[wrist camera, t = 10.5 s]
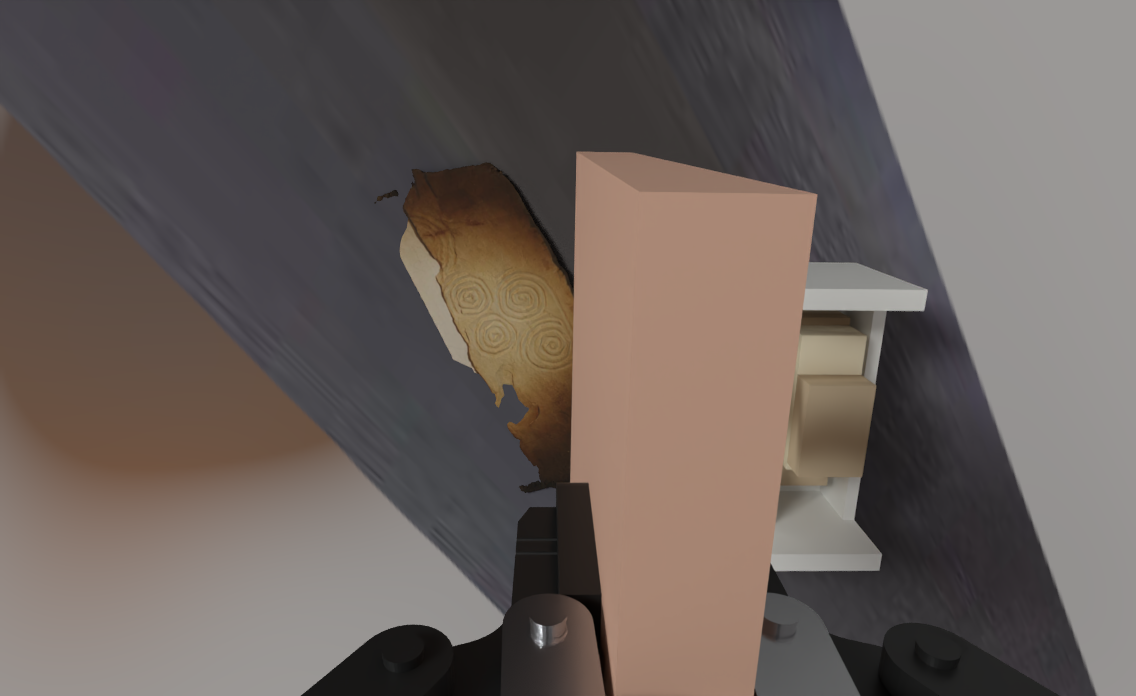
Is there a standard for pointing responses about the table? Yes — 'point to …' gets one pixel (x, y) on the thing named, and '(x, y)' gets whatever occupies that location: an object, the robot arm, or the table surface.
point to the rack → (826, 513)
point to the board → (683, 410)
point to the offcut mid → (826, 357)
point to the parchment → (497, 300)
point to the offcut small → (830, 425)
